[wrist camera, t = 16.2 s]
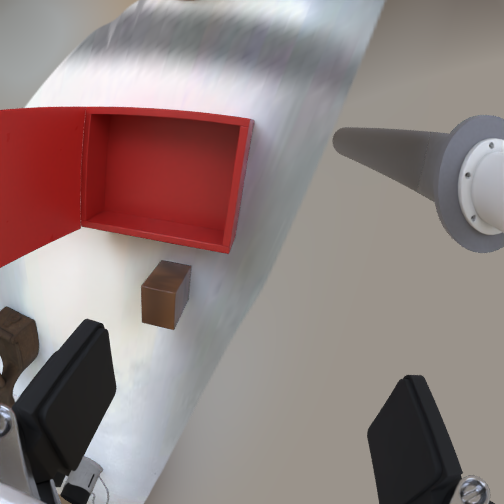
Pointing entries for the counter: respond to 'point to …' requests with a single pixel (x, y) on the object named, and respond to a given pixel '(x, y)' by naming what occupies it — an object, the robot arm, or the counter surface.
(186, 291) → the block
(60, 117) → the lid
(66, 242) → the counter surface
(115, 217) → the red shallow rectangular box
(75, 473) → the glass holder
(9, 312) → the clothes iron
